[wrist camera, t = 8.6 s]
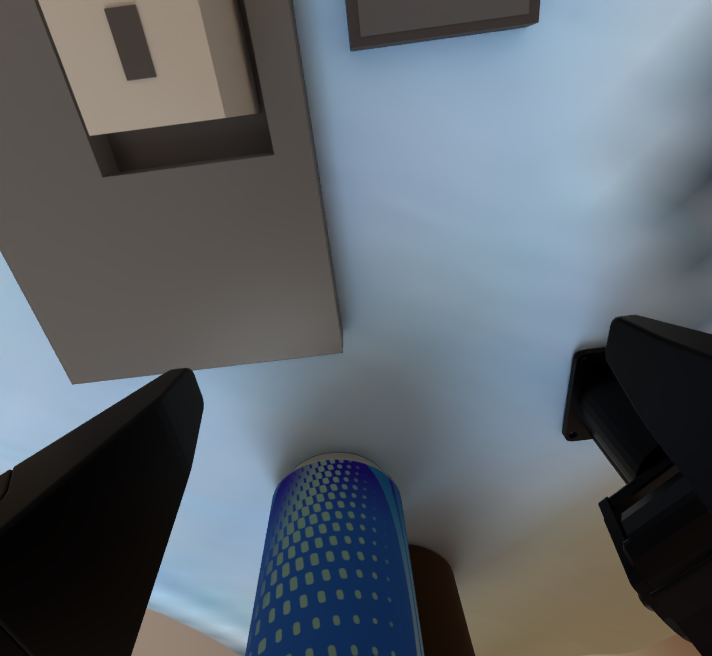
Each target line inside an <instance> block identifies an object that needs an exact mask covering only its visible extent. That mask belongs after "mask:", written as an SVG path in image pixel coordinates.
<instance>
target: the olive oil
mask: <svg viewBox="0 0 712 656" xmlns="http://www.w3.org/2000/svg"><path fill="white" fill-rule="evenodd" d="M408 549H409V555H410V562H411V569H412V575H413V582H414V589H415V595H416V602H417V609H418V616H419V622H420V629H421V636H422V642H423V649H424V656H475V653H474V650H473V646H472V642H471V639H470V635H469V631H468V627H467V624H466V620H465V616H464V612H463V609H462V605H461V601H460V597H459V593H458V590H457V586H456V582H455V579H454V575H453V572H452V570H451V567H450V566H449V564H448V563H447V562H446V561H445V560H444V559H443V558H442V557H441V556H439V555H437V554H436V553H434V552H432V551H430V550H427V549H424V548H420V547H415V546H408Z"/></svg>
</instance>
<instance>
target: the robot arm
mask: <svg viewBox="0 0 712 656" xmlns="http://www.w3.org/2000/svg"><path fill="white" fill-rule="evenodd" d="M583 358H586V359H585V360H584V361H581V360H582V359H583ZM203 408H204V402H203V397H202V394H201V392H200V389H199V386H198V383H197V381H196V378H195V375H194V373H193V371H192V370H191V369H190V368H179V369H172V370H169V371H167V372H166V373H164V374H162V375H161V376H159V377H158V378H156V379H154V380H153V381H151V382H150V383H148V384H146V385H145V386H143V387H142V388H140V389H138V390H137V391H135V392H134V393H132V394H130V395H129V396H127V397H126V398H124V399H122V400H121V401H119V402H117V403H116V404H114V405H113V406H111V407H109V408H108V409H106V410H105V411H103V412H101V413H100V414H98V415H97V416H95V417H93V418H92V419H90V420H89V421H87V422H85V423H84V424H82V425H80V426H79V427H77V428H76V429H74V430H72V431H71V432H69V433H68V434H66V435H64V436H63V437H61V438H60V439H58V440H56V441H55V442H53V443H52V444H50V445H48V446H47V447H45V448H44V449H42V450H40V451H39V452H37V453H35V454H34V455H32V456H31V457H29V458H27V459H26V460H24V461H23V462H21V463H19V464H18V465H16V466H15V467H14V468H13V470H8V471H6V472H5V473H3V474H2V475H0V656H131V654H132V651H133V648H134V645H135V642H136V639H137V636H138V632H139V629H140V626H141V623H142V620H143V617H144V614H145V611H146V608H147V605H148V602H149V599H150V596H151V593H152V589H153V586H154V583H155V580H156V577H157V574H158V571H159V568H160V565H161V562H162V559H163V556H164V552H165V549H166V546H167V543H168V540H169V537H170V534H171V531H172V528H173V525H174V522H175V519H176V515H177V512H178V509H179V506H180V503H181V500H182V497H183V494H184V491H185V488H186V485H187V482H188V478H189V475H190V472H191V468H192V463H193V459H194V454H195V449H196V444H197V439H198V434H199V429H200V424H201V419H202V414H203ZM572 432H573V433H572ZM562 434H563V436H564V437H565V439H566V440H568V441H579V440H588V439H593V440H594V442H595V443H596V444H597V446H598V447H599V448H600V450H601V451H602V452H603V454H604V455H605V456H606V458H607V459H608V460H609V462H610V463H611V464H612V466H613V467H614V468H615V470H616V471H617V472H618V474H619V475H620V476H621V478H622V479H623V480H624V482H625V483H626V485H625V486H624V487H622V488H621V489H620V490H618V491H617V492H616V493H614V494H613V495H612V496H610V497H609V498H608V497H606V498H604V499H603V500H602V501H600V502H599V503H598V505H599V507H600V510H601V512H602V514H603V517H604V521H605V524H606V526H607V529H608V531H609V533H610V536H611V538H612V541H613V543H614V545H615V548H616V550H617V553H618V555H619V557H620V560H621V562H622V565H623V567H624V570H625V572H626V574H627V577H628V579H629V582H630V584H631V585H632V587H633V588H634V589H635V591H636V592H637V593H638V596H639V599H640V601H641V602H642V603H643V605H644V606H645V607H646V608H647V609H649V610H651V611H654V612H655V613H656V614H657V615H658V616H659V617H660V618H661V619H662V620H663V621H664V622H665V623H666V624H667V625H668V626H669V627H670V628H671V629H672V630H673V631H675V632H676V633H677V634H678V635H680V636H681V637H682V638H684V639H685V640H687V641H689V642H691V643H692V644H693V645H694V646H695V647H696V649H697V650H698V651H699V653H700V654H701V655H702V656H712V334H708V333H704V332H700V331H697V330H693V329H689V328H685V327H681V326H677V325H673V324H669V323H666V322H662V321H658V320H654V319H650V318H646V317H642V316H638V315H628V316H620V317H616V318H614V319H613V320H612V322H611V325H610V330H609V335H608V340H607V345H606V347H604V348H595V349H587V350H581V351H579V352H577V353H576V354H575V355H574V357H573V363H572V369H571V376H570V383H569V389H568V396H567V403H566V409H565V416H564V423H563V429H562Z"/></svg>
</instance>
